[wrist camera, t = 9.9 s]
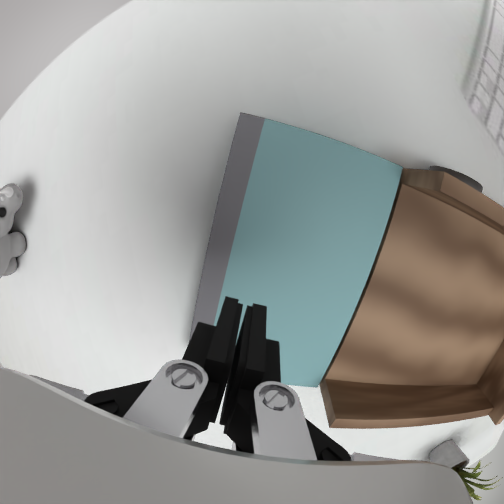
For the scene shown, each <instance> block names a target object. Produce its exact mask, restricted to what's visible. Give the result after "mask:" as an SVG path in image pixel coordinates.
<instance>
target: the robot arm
mask: <svg viewBox="0 0 504 504" xmlns="http://www.w3.org/2000/svg"><path fill="white" fill-rule="evenodd" d="M238 301H239V299H235V298H231V297H228V296H225V299H224V303H223V306H222V309H221V312H220V315H219V318H218V321H217V325H216V326H213V325H210V324H206V323H202V322H198V323H197V326H196V328H195V330H194V333H193V335H192V337H191V340H190V342H189V344H188V347H187V349H186V351H185V354H184V356H183V359H182V360H172V361H170V362H167V363H166V364H165V365H164V366H162V368H161V369H160V370H159V372H158V373H157V374H156V376H155V377H154V378H153V379H152V380H149V381H145V382H140V383H136V384H132V385H128V386H123V387H119V388H114V389H109V390H105V391H100V392H96V393H93V394H91V395H86V394H84V391H83V390H79V389H76V388H72V387H69V386H65V385H62V384H59V383H55V382H52V381H49V380H46V379H43V378H40V377H37V376H33V375H27V374H24V373H21V372H19V371H16V370H12V369H8V368H4V367H0V504H473V502H472V499H471V497H470V495H469V492H468V490H467V488H466V486H465V484H464V483H463V481H462V479H461V478H460V476H459V475H458V474H457V473H456V472H455V471H454V470H453V469H451V468H449V467H447V466H444V465H442V464H438V463H433V462H428V461H418V460H398V459H390V458H383V457H377V456H371V455H365V454H360V453H355V452H354V453H353V454H352V455H350V454H348V452H347V451H346V450H345V449H344V448H343V447H342V446H340V445H339V444H338V443H336V442H335V441H334V440H332V439H331V438H330V437H328V436H327V435H326V434H325V433H323V432H322V431H321V430H320V429H318V428H317V427H316V426H315V425H313V424H312V423H311V422H310V421H308V420H307V419H306V418H305V416H304V413H303V410H302V406H301V403H300V399H299V397H298V395H297V393H296V392H295V391H294V390H293V389H292V388H290V387H289V386H287V385H285V384H283V383H281V370H280V344H279V341H275V340H271V339H266V320H267V306H263V305H259V304H255V303H253V305H252V306H249V305H247V308H246V311H245V315H244V318H243V322H242V325H241V329H240V332H239V336H238V339H237V335H238V330H239V324H240V319H241V314H242V308H243V304H241V303H238ZM236 341H237V343H236ZM226 384H227V386H226ZM225 387H226V391H225ZM224 391H225V397H224V402H223V407H222V413H221V418H220V424H221V425H225V427H224V434H227V435H228V436H229V437H230V439H231V440H232V441H233V444H232V450H229V449H225V448H220V447H215V446H211V445H207V444H202V443H198V442H194V438H195V434H197V433H200V432H202V431H205V430H207V429H208V425H209V422H212V423H215V421H216V417H217V414H218V411H219V407H220V404H221V401H222V397H223V394H224Z"/></svg>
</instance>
